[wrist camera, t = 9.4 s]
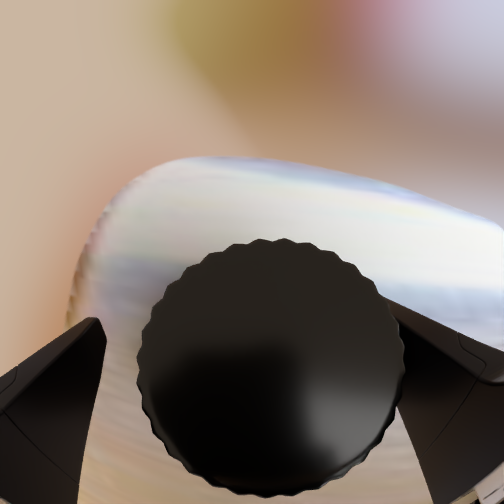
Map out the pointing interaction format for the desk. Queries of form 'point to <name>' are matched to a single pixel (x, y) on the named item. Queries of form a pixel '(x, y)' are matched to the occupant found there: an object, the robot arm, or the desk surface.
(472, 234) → the desk surface
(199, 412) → the supplement bottle
